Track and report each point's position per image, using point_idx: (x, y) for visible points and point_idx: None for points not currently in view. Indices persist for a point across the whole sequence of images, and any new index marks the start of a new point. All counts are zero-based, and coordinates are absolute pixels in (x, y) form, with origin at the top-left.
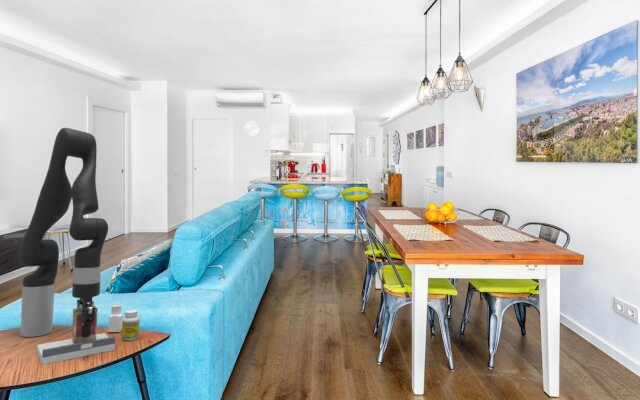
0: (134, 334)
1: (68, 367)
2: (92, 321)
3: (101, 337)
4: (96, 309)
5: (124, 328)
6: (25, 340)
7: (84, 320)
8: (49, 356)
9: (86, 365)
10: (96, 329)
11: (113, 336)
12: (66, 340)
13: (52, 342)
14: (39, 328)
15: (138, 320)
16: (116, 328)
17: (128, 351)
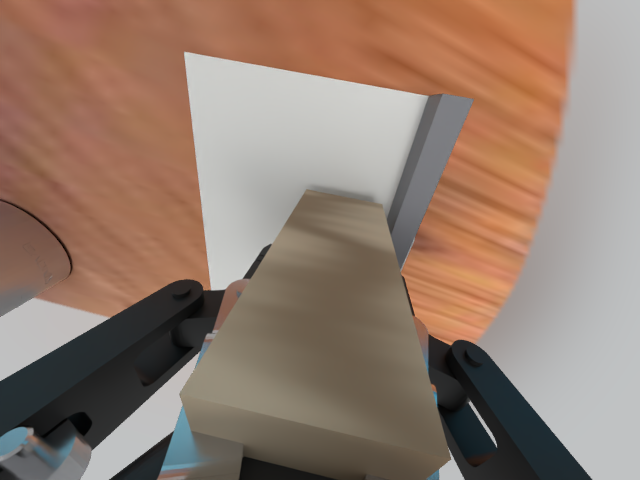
0: None
1: (448, 306)
2: (499, 380)
3: (269, 113)
4: (435, 447)
5: None
6: (100, 285)
7: (471, 438)
8: None
9: (494, 270)
10: (390, 237)
11: (439, 99)
12: (218, 250)
13: (215, 286)
14: (32, 268)
15: None
16: None
17: (553, 41)
